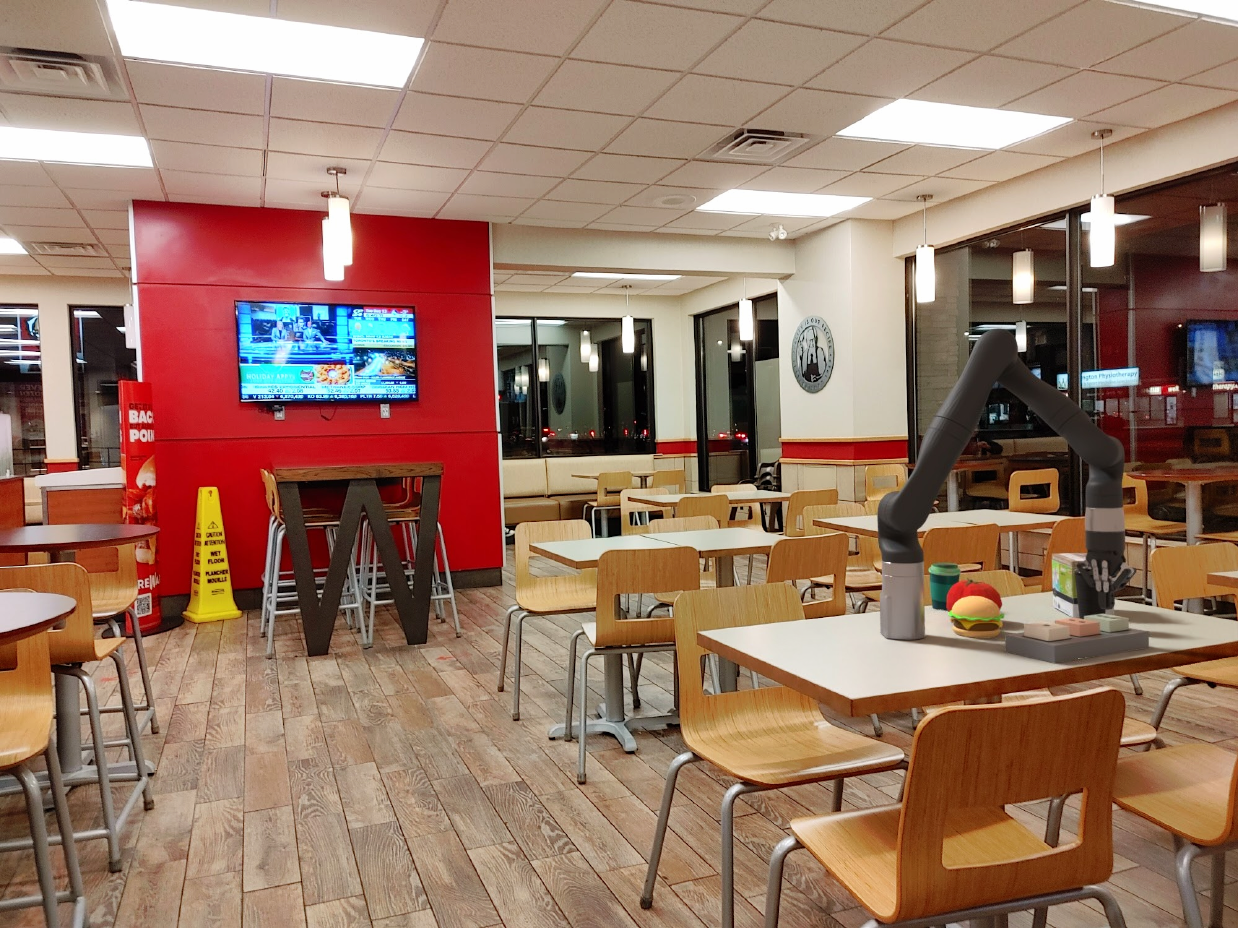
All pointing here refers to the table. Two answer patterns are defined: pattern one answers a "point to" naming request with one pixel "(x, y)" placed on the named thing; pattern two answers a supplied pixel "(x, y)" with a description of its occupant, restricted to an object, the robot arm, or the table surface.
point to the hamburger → (976, 617)
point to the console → (1077, 645)
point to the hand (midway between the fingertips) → (1106, 608)
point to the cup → (942, 582)
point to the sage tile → (1110, 622)
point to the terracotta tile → (1080, 626)
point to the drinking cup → (1086, 597)
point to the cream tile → (1046, 631)
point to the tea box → (1067, 583)
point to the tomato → (972, 592)
